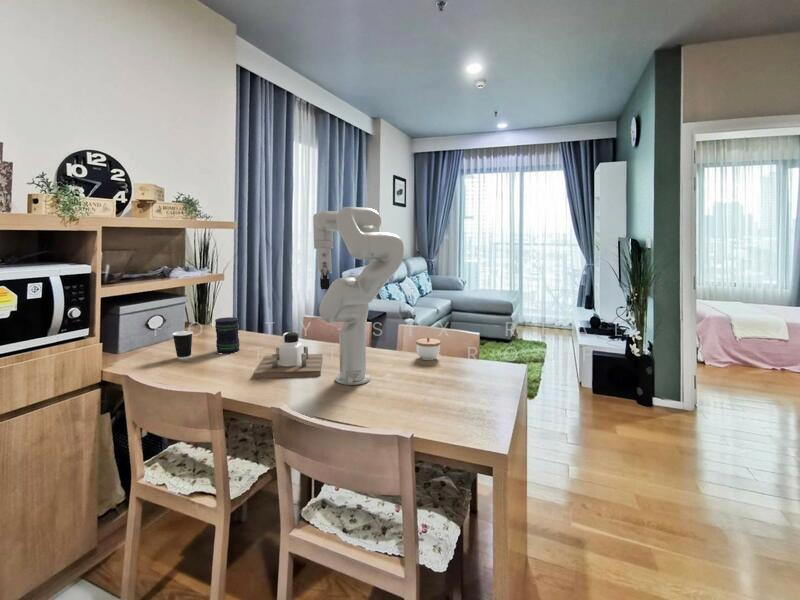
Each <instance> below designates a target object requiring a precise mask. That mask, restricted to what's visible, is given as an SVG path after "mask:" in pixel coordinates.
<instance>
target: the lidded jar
mask: <svg viewBox="0 0 800 600" xmlns="http://www.w3.org/2000/svg"><path fill="white" fill-rule="evenodd" d="M441 343H442V342H441V340H440V339H437V338H436V339H435V338H430V337H429V336H427V338H419V339H417V340H415V347H416V352H417V353H416V354H417V355H418V357H420V359H421V360H425V361H433V359H434V360H436V358H437V357H438V356H439V354H440V351H441Z"/></svg>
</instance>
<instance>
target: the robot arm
mask: <svg viewBox="0 0 800 600" xmlns="http://www.w3.org/2000/svg"><path fill="white" fill-rule="evenodd" d="M312 219H313V220H312V221H313V249H314V250H316V251H317V253H316V255H317V256H316V257H317V267H318V273H319V275H320V277H319V278H320V279H319V287H320V289H321V290H326V292H325V294H324V295H323V297H322V299H321V301H320V305H319V316H320V318H321V320H323V322H325V323H327V324H336V323H343V324H342V325H341V327H340V330H339V334H338V335H339V337H338V338H339V373H338V374H337V375H336V376H335V382H337V383H338V384H341V385H346V386H355V385H356V386H357V385H363V384H366V383H368V382H369V381H370V379H371V375H370V374H369V373H367V368H366V367H367V321H368V320H367V319H368V316H369V311H370V310H369V307H370V305H369V304H370V303H371V302H373V300H374V299H375V298H376V297H377V296H378V294H379V293H380V292H381V290H382V289H383V287H384V286H385V285H386V283H388V281H389V280H390V279H391V278H392V277H393V276H394V275H395V274H396V272H398V269H399V268H400V266H401V265H402V262H403V259H404V251H405V247H404V242H403V240H402V238H401V237H400V236H398V235H397V234H394V233H390V232H384V231H378V230H379V229H380V228H381V225H382V217H381V215H380V214H379V212H378V211H377V210H375V209H373V208H370V207H360V206H359V207H358V206H344V207H342V208H340V209H339V211H336V210H334V211H333V210H322V211H320V212H316V213H315V214H313V217H312ZM334 232H339V234H340V236H341V238H342V241H343V243H344V245H345V246H346V249H347V251H348V253H349V254H350V255H351V257H352V258H354V259H356V260H373V261H371V262H370V263H368V264H367V265H366V266H365V267H364V268H363V269H362V272H361V273H360V274H359V275H357V276H351V277H339V278H337V279H335V280H333V281H332V283H330V278H329V274H330V275H331V274H332V273H333V270H332V269H333V267H332V266H333V265H332V250H331V249H334Z"/></svg>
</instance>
